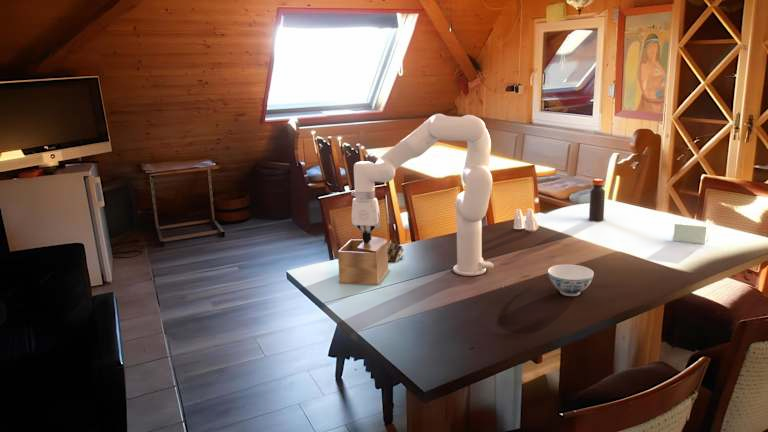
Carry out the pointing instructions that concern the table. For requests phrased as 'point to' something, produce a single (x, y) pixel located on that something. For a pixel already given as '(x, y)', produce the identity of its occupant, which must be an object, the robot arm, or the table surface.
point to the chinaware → (570, 278)
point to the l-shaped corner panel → (691, 233)
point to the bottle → (597, 201)
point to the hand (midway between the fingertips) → (367, 241)
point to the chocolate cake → (394, 252)
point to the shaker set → (530, 221)
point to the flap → (372, 244)
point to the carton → (362, 264)
